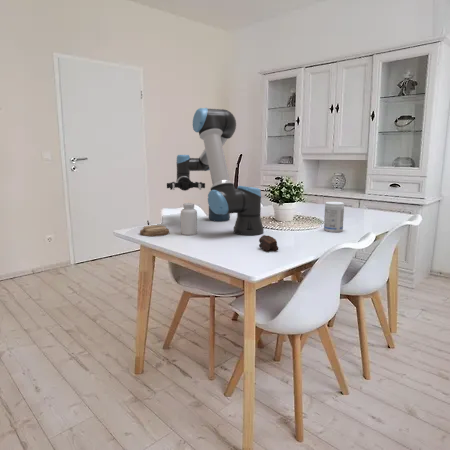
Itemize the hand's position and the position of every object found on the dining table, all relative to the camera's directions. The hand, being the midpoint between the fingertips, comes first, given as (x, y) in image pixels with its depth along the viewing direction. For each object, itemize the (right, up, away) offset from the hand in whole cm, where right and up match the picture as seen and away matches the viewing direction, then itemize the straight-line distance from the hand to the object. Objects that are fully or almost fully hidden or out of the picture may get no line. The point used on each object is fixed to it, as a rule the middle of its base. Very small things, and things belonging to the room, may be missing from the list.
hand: (187, 187), depth 189 cm
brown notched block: (+37, -30, -34) cm, 59 cm away
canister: (+16, -16, +34) cm, 41 cm away
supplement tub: (+76, -22, +5) cm, 79 cm away
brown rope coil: (-16, -23, -5) cm, 29 cm away
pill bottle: (+1, -24, -5) cm, 24 cm away
